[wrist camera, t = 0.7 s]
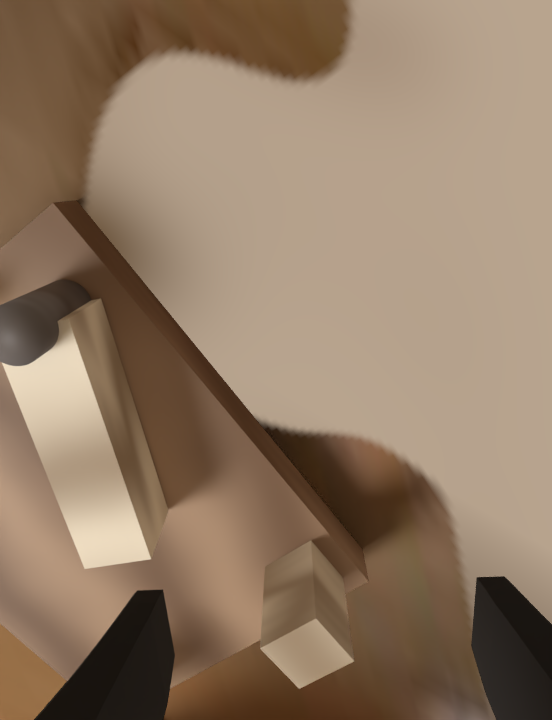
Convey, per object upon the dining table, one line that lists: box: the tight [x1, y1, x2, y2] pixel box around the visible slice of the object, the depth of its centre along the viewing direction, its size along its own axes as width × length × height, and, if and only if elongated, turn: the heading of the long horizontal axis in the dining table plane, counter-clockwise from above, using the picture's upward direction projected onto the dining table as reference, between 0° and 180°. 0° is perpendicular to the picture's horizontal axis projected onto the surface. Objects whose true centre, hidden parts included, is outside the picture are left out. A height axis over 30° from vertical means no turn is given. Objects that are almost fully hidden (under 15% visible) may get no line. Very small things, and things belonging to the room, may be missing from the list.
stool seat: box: [0, 201, 369, 689], centre depth 20 cm, size 15×19×6 cm
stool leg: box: [0, 280, 168, 569], centre depth 17 cm, size 10×2×4 cm, turn 11°
